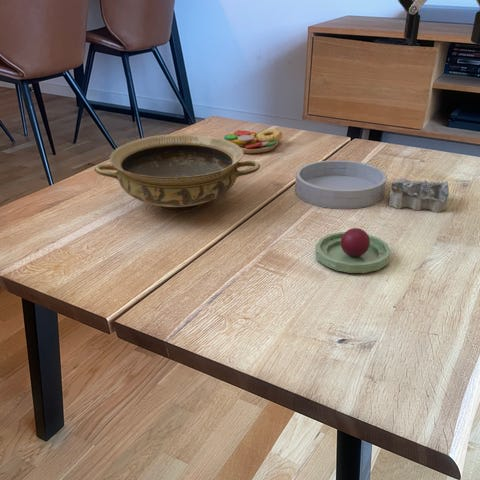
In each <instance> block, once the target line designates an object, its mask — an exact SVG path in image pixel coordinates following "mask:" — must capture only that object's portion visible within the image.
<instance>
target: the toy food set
mask: <svg viewBox="0 0 480 480" xmlns="http://www.w3.org/2000/svg"><path fill="white" fill-rule="evenodd" d="M223 139H224V140H227V141H230V142H232V143H234V144H236V145H238V146H239V147H240V148H241V149H242V151H243V154H261V152H262V153H266V152H269V151H272V150H273V149H275V147H276V146H277V145H278V144H279V141H281V140H282V139H283V132H282V130H280V129H277V128H269V129H265V130H262V131H259V132H258V133H256V132H254V131H249V130H242V129H240V130H239V129H238V130H236V131H234V132H232V133H230V134H226V135H224V136H223Z"/></svg>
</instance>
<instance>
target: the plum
mask: <svg viewBox="0 0 480 480" xmlns="http://www.w3.org/2000/svg"><path fill="white" fill-rule="evenodd" d="M344 232H345V233H344V235H343V236H342V239H341V247H342V250H343V251H344V252H345V253H346V254H347V255H349V256H351V257H359V256H361V255H363V254H364V253H366V251H367V250H368V248H369V245H370V239H369V236H368V234H369V233H367V232H366V231H365V230H363V229H361V228H359V227H354V228H353V227H352V228H349V229H348V230H347V231H344Z"/></svg>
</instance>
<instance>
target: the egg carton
mask: <svg viewBox="0 0 480 480" xmlns="http://www.w3.org/2000/svg"><path fill="white" fill-rule="evenodd" d="M449 189H450V187H449V182H448V181H447V180H446V181H442V182H440V181H438V182H434V181H430V182H428V181H427V180H421V181H419V180H409V179H406V178H398V179H394V180H393V181H391V182H390V186H389V190H388V194H389V197H388V198H389V201H388V206H389V207H394V208H395V209H398V210H399V209H403V208H410V209H412V210H413V211H421V210H424V209H425V210H430V211H431V212H434V213H439V212H441V211H445V210H446V207H447V202H448V201H449V199H450V196H449V195H450V192H449V191H450V190H449Z"/></svg>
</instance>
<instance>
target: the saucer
mask: <svg viewBox="0 0 480 480" xmlns="http://www.w3.org/2000/svg"><path fill="white" fill-rule="evenodd" d="M345 232H346V231H339V232H335V233H329V234H327V235H325V236H323V237H321V238H320V239H319V240H318V241H317V242H316V244H315V256H316V260H317V261H319V263H321V264H322V265H323V266H325V267H327V268H330V269H333V270H335V271H339V272H343V273H349V274H359V273H360V274H365V273H370V272H374V271H375V272H376V271H379V270H381V269H382V268H384V267H386V266H387V265H388V263H389V261H390V258H391V252H392V250H391V248H390V246H389V244H388V243H387V242H386V241H384V239H381V238H380V237H378V236H374V235H371V234H369V233H367V234H368V236H369V239H370V245H369V248H368V250H367V251H366V253H364V254H363V255H361V256H359V257H351V256H349V255H347V254H346V253H345V252H344V251H343V250H342V247H341V239H342V236H343V235H344V233H345Z"/></svg>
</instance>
